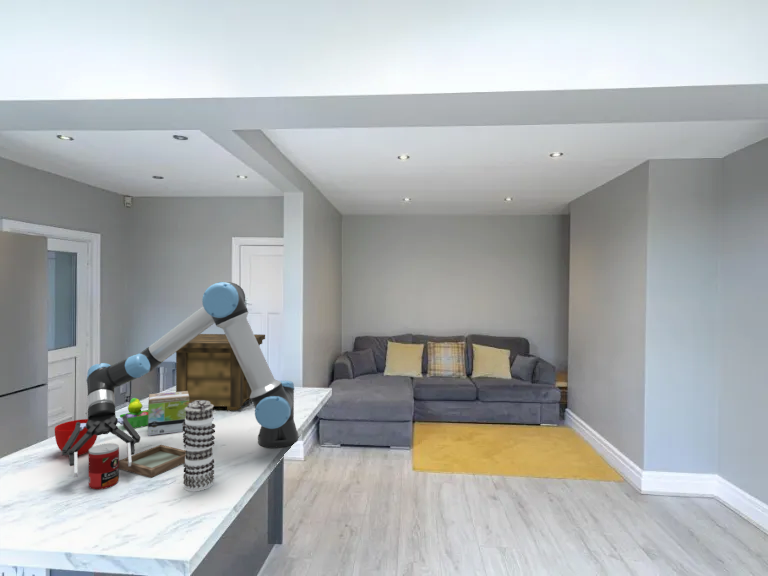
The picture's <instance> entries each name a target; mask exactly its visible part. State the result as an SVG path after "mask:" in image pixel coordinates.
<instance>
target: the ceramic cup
mask: <svg viewBox="0 0 768 576" xmlns="http://www.w3.org/2000/svg"><path fill="white" fill-rule="evenodd" d="M87 421H88V418H85V419H84V418H83V419H76V420H69V421H66V422H63V423H60V424H57V425H56V426H55V427H54V438H55V442H56V444H57V445H56V446H57V447H58V449H59V451H61V452H62V449H63V447H64V446H65V444H66V443H67V441H68V439H69V438H70V436H71V435H72V433H73V431H74V430H75V426H76V423H77V422H80V423H87ZM87 431H88V429H87V428H86V427H85V428H84V429H83V430H82V431H80V433H79V435H78V437H77V438H76V440H75V442H74V443H73V445H72V447H73V446H74V445H75V444H76V443H77V442H78V441H79V440H80V439H81V438H82V437H83V436H84V435H85V434H86V432H87ZM97 438H98V436H96V435H93V436H92V437H91V438H90V439H89V440H88V441H87V442H86V443H85V444H84V445H83V446H82V447H81V448H80V449H79V450H78V452H77V456H81V455H85V454H87V453H89V449H90V448H92V447H94V446H95V445H94V444H95V443H96V441H97ZM72 447H71V448H72ZM71 448H70V449H71ZM66 456H67V457H69V456H68V455H66Z"/></svg>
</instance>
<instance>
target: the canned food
mask: <svg viewBox="0 0 768 576" xmlns="http://www.w3.org/2000/svg"><path fill="white" fill-rule="evenodd" d="M87 455H88V486H89V488H90V489H92V490H104V489H108V488H111V487H113V486H115V485H116V484H117V483H119V478H120V469H119V460H120V447H119V444H117V443H113V442H111V443H108V442H107V443H101V444H98V445H93V446H92V447H91V448H90V449H89V451H88V454H87Z"/></svg>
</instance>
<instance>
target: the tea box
mask: <svg viewBox="0 0 768 576" xmlns="http://www.w3.org/2000/svg"><path fill="white" fill-rule="evenodd" d="M147 402H148V404H147V405H148V407H147V410H148V426H147V436H148V437H149V436H154V435H155V436H157V435H163V434H173V433H181V432H183V430H182V429H183V425H182V424H183V423H182V422H184V421H185V418H186V410H185V408H186V407H187V406H188V404H189V394H188V391H182V392H176V391H172V392H170V391H169V392H160V393H159V392H158V393H149V394H148V401H147ZM185 430H186V428H185ZM183 433H184V432H183Z"/></svg>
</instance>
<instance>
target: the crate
mask: <svg viewBox="0 0 768 576" xmlns="http://www.w3.org/2000/svg"><path fill="white" fill-rule="evenodd" d="M253 334H254V333H253ZM254 336H255V338H256V340H257V342H258V344H259V347H260V345H262V344H263V341H264V340H265V339H266V334H254ZM260 348H261V347H260ZM175 354H176V355H175V358H176V359H175V370H176V371H175V379H176V380H175V392H182V391H188V394H189V403H191V402H193V401H197V400H207V401H209V402H210V403H211V404H212V405H214V407H226V411H233V410H234V411H235V410H236V412H237V411H238V410H239V409H241V407H242V406H244V403H245V402H246V401H247V400H251V399H250V395H251V392H252V390H251V388H250V386H249V384H248V382H247V379H246V377H245V375H244V373H243V371H242V369H241V367H240V364H239V362H238V360H237V358H236V356H235V354H234V352H233V349H232V347H231V345H230V343H229V341H228V339H227V337H226V335H225V333H201V334H199V335H198V336H197V337H195V338H194V339H193V340H191V341H190V342H189V343H187V344H186V345H184V346H183V347H182V348H180V349H179V350H178V351H176V352H175Z"/></svg>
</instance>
